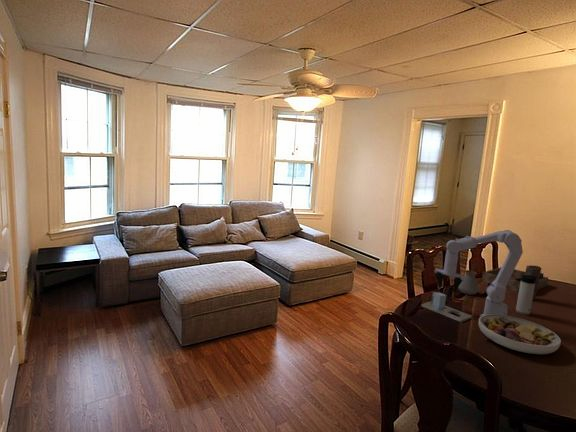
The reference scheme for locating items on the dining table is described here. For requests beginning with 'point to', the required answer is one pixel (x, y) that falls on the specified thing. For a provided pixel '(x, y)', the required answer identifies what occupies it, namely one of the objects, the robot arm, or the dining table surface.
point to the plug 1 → (433, 296)
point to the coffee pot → (469, 283)
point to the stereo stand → (512, 284)
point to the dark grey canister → (534, 272)
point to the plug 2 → (439, 301)
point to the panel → (448, 312)
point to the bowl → (519, 334)
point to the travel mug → (525, 294)
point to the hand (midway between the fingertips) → (447, 289)
